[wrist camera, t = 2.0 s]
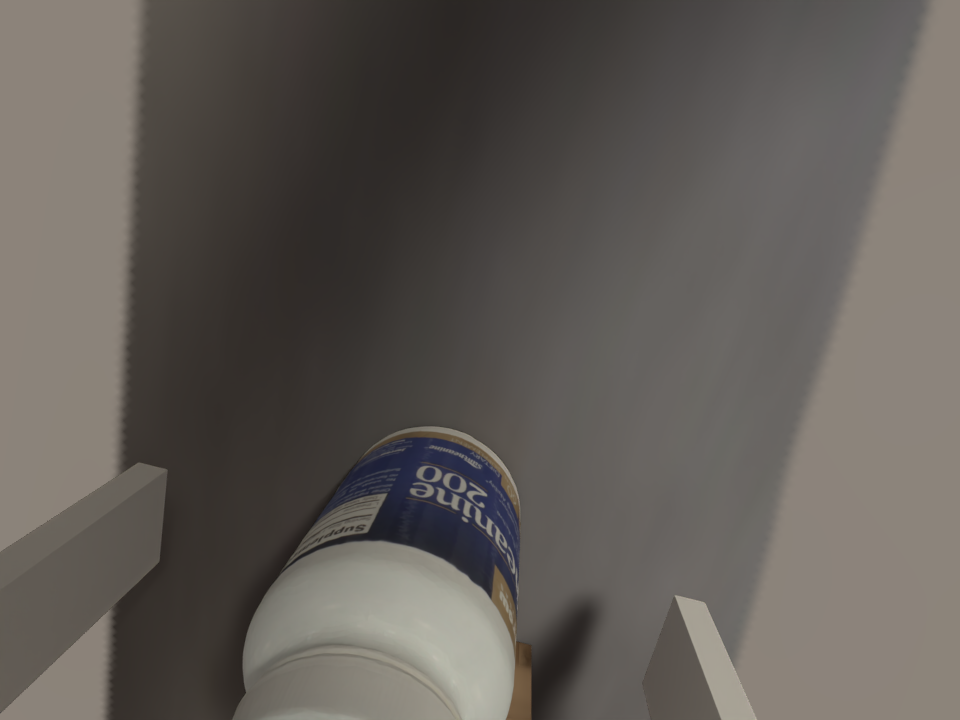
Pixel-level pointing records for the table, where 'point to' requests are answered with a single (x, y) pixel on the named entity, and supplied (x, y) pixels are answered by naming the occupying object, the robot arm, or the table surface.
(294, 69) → the table surface
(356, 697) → the pill bottle
